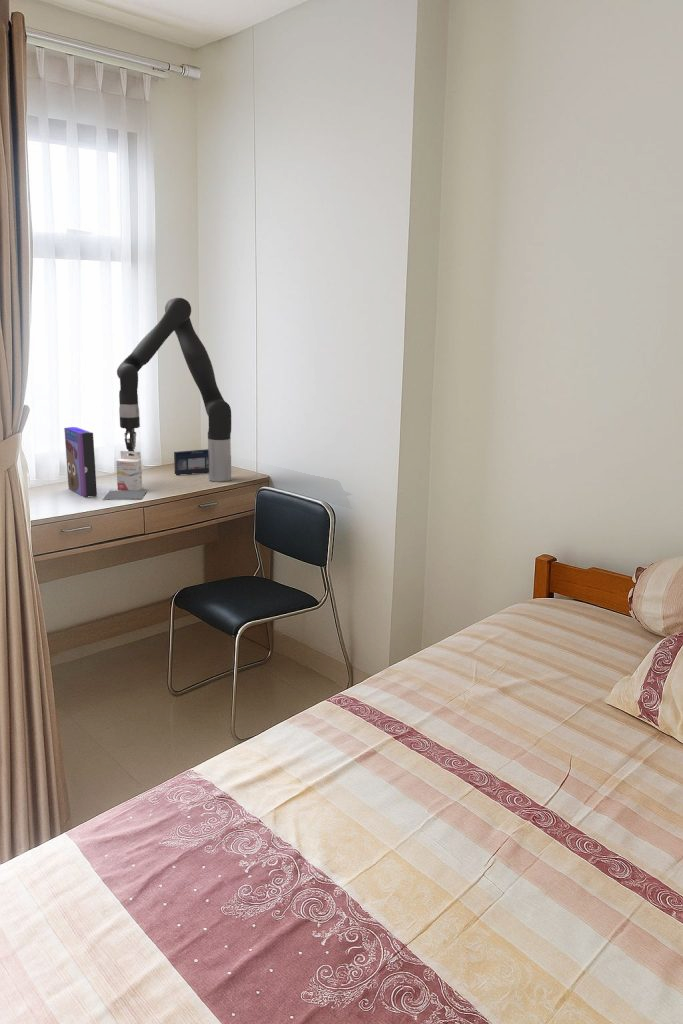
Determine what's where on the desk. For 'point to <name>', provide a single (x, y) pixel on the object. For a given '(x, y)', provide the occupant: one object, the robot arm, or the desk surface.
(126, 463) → the ink cartridge box
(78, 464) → the cereal box
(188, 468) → the vhs cassette tape
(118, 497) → the mat
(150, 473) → the desk surface
